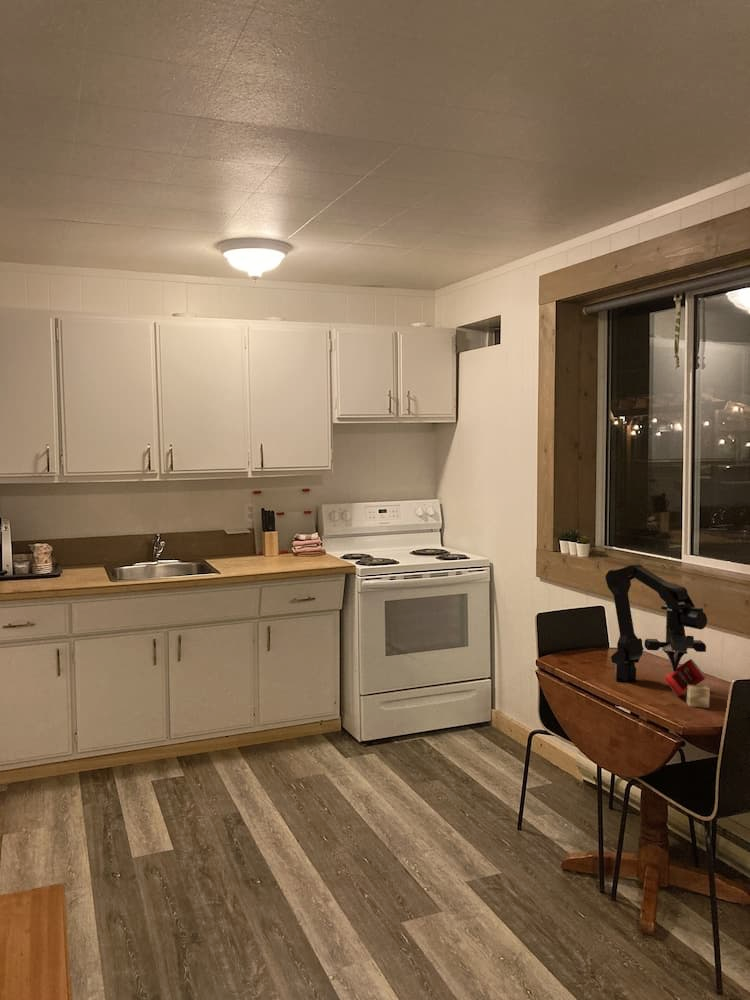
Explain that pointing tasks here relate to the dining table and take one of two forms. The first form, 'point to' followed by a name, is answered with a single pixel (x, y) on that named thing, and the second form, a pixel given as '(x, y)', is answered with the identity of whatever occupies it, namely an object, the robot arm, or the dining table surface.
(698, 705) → the beech block
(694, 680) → the canned food
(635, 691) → the dining table surface
